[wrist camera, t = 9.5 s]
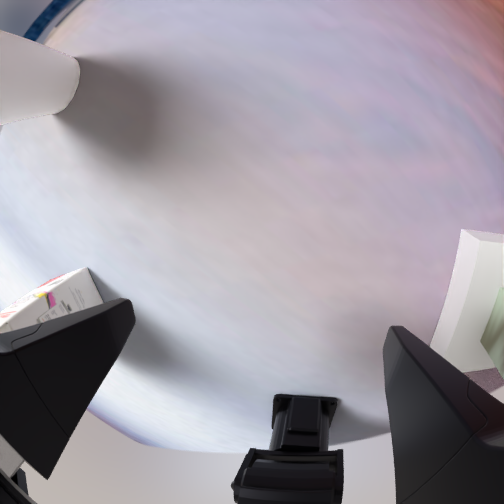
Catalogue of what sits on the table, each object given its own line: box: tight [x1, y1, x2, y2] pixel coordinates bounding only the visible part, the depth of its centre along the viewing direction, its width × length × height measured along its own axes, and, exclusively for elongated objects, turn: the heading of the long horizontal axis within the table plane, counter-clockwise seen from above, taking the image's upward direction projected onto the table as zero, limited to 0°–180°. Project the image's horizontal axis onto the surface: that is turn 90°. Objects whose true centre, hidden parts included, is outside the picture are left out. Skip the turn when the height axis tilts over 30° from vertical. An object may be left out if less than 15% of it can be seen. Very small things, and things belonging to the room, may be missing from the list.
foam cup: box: [0, 30, 80, 125], centre depth 13 cm, size 10×9×13 cm
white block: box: [429, 229, 504, 373], centre depth 16 cm, size 12×12×3 cm
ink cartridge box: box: [0, 267, 104, 333], centre depth 20 cm, size 9×5×15 cm, turn 108°
